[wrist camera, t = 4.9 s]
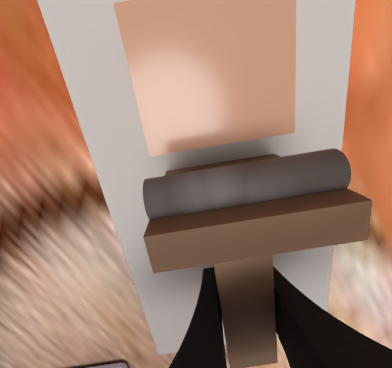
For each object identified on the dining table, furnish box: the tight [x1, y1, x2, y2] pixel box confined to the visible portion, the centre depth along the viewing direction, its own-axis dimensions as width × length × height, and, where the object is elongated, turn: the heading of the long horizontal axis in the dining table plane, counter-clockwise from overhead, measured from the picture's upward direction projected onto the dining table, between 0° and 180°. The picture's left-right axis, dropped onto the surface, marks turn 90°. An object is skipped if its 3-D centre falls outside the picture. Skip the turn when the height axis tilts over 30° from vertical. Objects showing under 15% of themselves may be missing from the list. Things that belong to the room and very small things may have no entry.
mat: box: [37, 0, 355, 355], centre depth 13 cm, size 25×14×1 cm, turn 9°
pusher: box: [143, 148, 372, 368], centre depth 10 cm, size 11×6×6 cm, turn 9°
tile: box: [113, 0, 296, 156], centre depth 10 cm, size 2×7×6 cm
